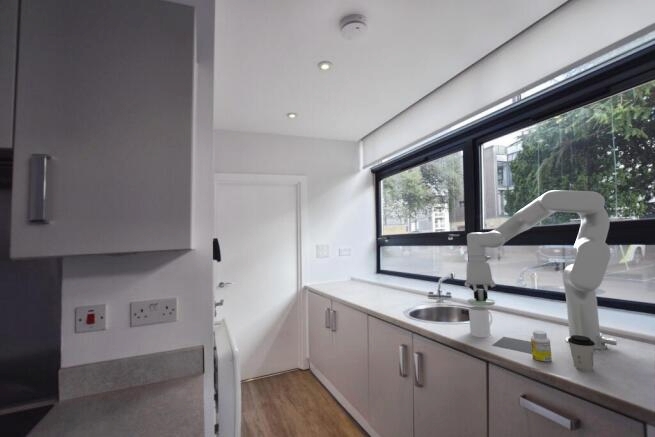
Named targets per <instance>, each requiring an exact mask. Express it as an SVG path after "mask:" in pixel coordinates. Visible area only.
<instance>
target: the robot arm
mask: <svg viewBox="0 0 655 437" xmlns="http://www.w3.org/2000/svg"><path fill="white" fill-rule="evenodd" d="M605 203H606V200H605V197H604V196H603V195H602V194H601V193H600V192H596V191H592V190H562V189H561V190H557V189H555V190H548V191H547V192H545V193H543V194H541V195H540V196H538V197H537V198H536V199H534V200H532V202H530V203H528V204H527V205H526V206H524V207H523V208H521V209H520V210H518V211H516V212H515V213H514V214H513V215H512V216H511V217H509V218H508V219H507V220H506V221H504V222H503V223H501V224H500V225H498V226H496V227H495V228H494V229H492V230H491V231H488V232H470V233H467V235H466V241H467V242H466V244H467V255H468V262H466V271H465V272H466V280H465V282H464V286H465V287H467V288H469V289H471V291H473V298H475V299H476V301H478V292H477V286H480V285H482V286H483V289H484V300H485V301H487V300H486V299H489V298H488V296H489V295H488V291H490V290H491V288H493V287H496V286H497V285H496V282H495V281H494V280H493V277H492V276H493V275H492V270H491V265H490V263H489V260H491V256H488V255H487V248H489V249H499V248H501V247H502V246H504V245H505V243H507V242H508V241H510V240H511V239H512V238H514V237H515V236H517V235H519V234H521V233H524V232H525V231H528V230H530V229H532V228H534V226H536V225H538V224H539V223H541V222H542V221H544V220H546V219H547V218H549V217H550V216H551V215H553V214H554V213H556V212H559V213H573V214H574V213H575V214H577V215H578V216H579V217H580V226H579V231H578V233H577V237H576V240H575V243H574V245H573V247H572V253H573V255H574V256H575V257H574V258H575V259H574V261H573V263H572V264H569V265H567V266H566V267H565V268H564V269H563V270H562V272H563V273H562V281H563V282H562V283H563V286H564V292H565V299H566V300H565V302H566V303H565V304H566V312H567V322H568V323H567V324H568V332H569V336H567V337H565V339H564V340H565V343H567V344H569V342H568V339H569V338H571V336H572V335H580V336H585V337H588V338H590V340H592V341H593V342H594V343H595V345H594V350H595V351H597V350H605V349H606V348H608V347H607V346H608V345H610V346H617V344H618V343H617V339H613V338H612V337H611V338H610V337H605V336H603V333H601V329H600V321H599V319H600V318H599V311H598V310H599V309H598V299H597V293H596V290H597V289H598V288H600V286H601V285H602V282H603V281H604V277H605V275H606V273H607V272H606V271H607V269H608V266H609V262H610V260H611V254H612V253H611V248H610V246H609V245H608V243H606V240H607V237H608V233H609V230H610V217H609V213H608V211H607V210H606V208H605V207H604V206H605Z"/></svg>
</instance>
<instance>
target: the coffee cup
mask: <svg viewBox="0 0 655 437" xmlns="http://www.w3.org/2000/svg"><path fill="white" fill-rule="evenodd" d="M568 342H569V343H568V346H569V348H570V352H571V353H570V354H571V357H572V360H573V365H574V367H575V369H576V370H578V371H581V372H588V373H589V372H593V370H594V352H595V351H594V345H595V343H594V342H593V341H592V340H590V338H588V337H585V336H580V335H572V336H571V338H569V339H568Z"/></svg>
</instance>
